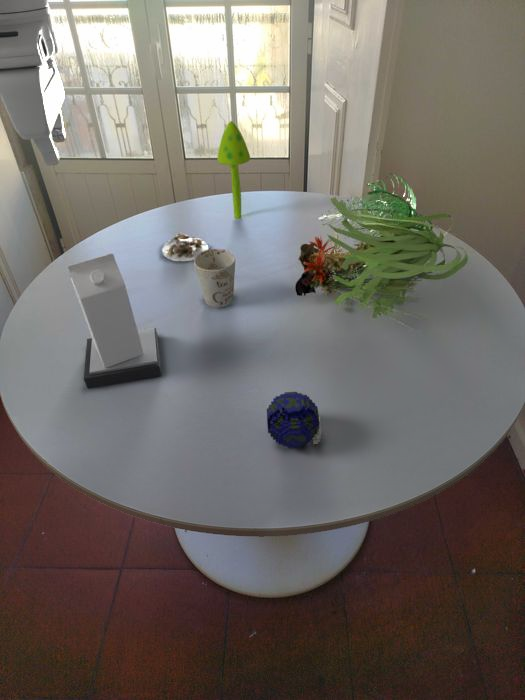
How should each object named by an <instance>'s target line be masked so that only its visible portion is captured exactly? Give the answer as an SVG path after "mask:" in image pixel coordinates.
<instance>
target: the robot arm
mask: <svg viewBox="0 0 525 700" xmlns="http://www.w3.org/2000/svg"><path fill="white" fill-rule="evenodd" d="M61 51H62V47H61V43H60V40H59V36H58V33H57V29H56V25H55V22H54V18H53V14H52V11H51V7H50V4H49V1H48V0H0V99H1V101H2V104H3V106H4V107H5V108H4V109H5V111H6V113H7V115H8V117H9V119H10V122H11V124H12V127H13V128H14V130H15V131H16V133H17V134H18V136H19V137H20V138H21V140H26V141H27V140H28V141H29V140H33V143H34V144H35V146H36V147H37V149H38V151H39V152H40V153H41V156H42V159H43V161H44V164H45V165H46V166H57V165H59V162H60V155H59V151H58V149H57V147H56V146H55V143H64V142H65V141H66V140H67V134H66V131H65V127H64V121H63V114H62V110H61V109H62V105H63V103H64V100H65V98H66V96H65V90H64V86H63V82H62V80H61V76H60V73H59V70H58V66H57V64H56V61H55V57H54V55H55V54H58V53H60V52H61Z"/></svg>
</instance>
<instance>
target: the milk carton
mask: <svg viewBox="0 0 525 700" xmlns="http://www.w3.org/2000/svg"><path fill="white" fill-rule="evenodd" d="M66 267H67V271H68V273H69V277H70V278H69V279H70V281H71V284H72V286H73V290H74V293H75V294H76V298H77V300H78V303H79V305H80V309H81V311H82V314H83V317H84V319H85V323H86V325H87V328H88V331H89V334H90V336H91V338H92V339H93V342H94V345H95V347H96V349H97V351H98V354H99V356H100V358H101V360H102V363H103V365H104V367H105V368H107V367H110V366H113V365H115V364H118V363H121V362H124V361H126V360H129V359H132V358H135V357H137V356H140V355H143V354H144V353H143V349H142V345H141V341H140V338H139V334H138V330H139V329H138V327H137V324H136V320H135V316H134V313H133V308H132V305H131V302H130V297H129V293H128V290H127V287H126V286H127V285H126V284H125V281H124V278H123V276H122V273H121V271H120V268H119V266H118V263H117V261H116V259H115V255H114V253H113V252H111V253H107V254H104V255H100V256H97V257H93V258H90V259H85V260H82V261H79V262H75V263H71V264H68V265H66Z"/></svg>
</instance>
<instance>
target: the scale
mask: <svg viewBox="0 0 525 700" xmlns="http://www.w3.org/2000/svg"><path fill="white" fill-rule="evenodd" d="M137 330H138V334H139V338H140V341H141V345H142V349H143V353H144V354H143V355H140V356H137V357H135V358H132V359H129V360H126V361H124V362H121V363H118V364H115V365H113V366H110V367H107V368H105V367H104V365H103V363H102V360H101V358H100V356H99V354H98V351H97V349H96V347H95V345H94V342H93V339H92V337H90V338H86V346H85V347H86V348H85V357H84V358H85V359H84V360H85V361H84V367H83V368H84V371H83V381H84V383H85V386H86V388H87V389H94V388H99V387H105V386H111V385H115V384H122V383H128V382H133V381H139V380H145V379H151V378H155V377H162V365H161V363H162V362H161V353H160V352H161V351H160V342H159V334H158V331H157V327H151V328H150V327H149V328H144V329H137Z"/></svg>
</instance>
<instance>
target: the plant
mask: <svg viewBox="0 0 525 700" xmlns="http://www.w3.org/2000/svg"><path fill="white" fill-rule="evenodd" d="M391 175H392V176H394V178H395V179H396V180H397V181H401V183H402V184H403V185H404V188H405V191H404V194H403V197H405V196H406V191H407V192H409V193H408V197H407V198H406V200H405V199H404V198H402V197H401V196H400V195H397V194H395V193H394V192H395V190H394V191H392V193H391V192H388V191H386V190H387V186H386V183H385V182H384V180H382V179H380V178H378V181H380V183H381V184H382V186H383V189H382V187H381V186H380V185H379V184H377V183H375V182H371V183H370V182H368V183H367V184H366V186H367V187H371V188H372V190H371V191H366V194H367V195H365V197H366V198H363V199H362V197H363V195H359V197H358V196H356V198H354V197H353V196H351V197H350V199H347V200H346V201H347V202H348V204H349V205H347V204H346V202H344V201H343V199H341V200H340V201H338V199H337V198H336V196H334V197H332V198H329V200H330V202H331V203H332V204H333V205H334V206H335V209H336V210H337V211H338V212H333V213H330V211H327V212H328V213H329V215H327V214H323V213H321V214H322V215H323V216H322V217H317V220H320V221H321V222H325V221H327V220H330V219H332V220H331V221H329V222H327V223H322V226H326V225H327V226H328V227H330V228H331V230H333V231H334V236H335V237H334V236H332V235H329V234H327V237H328V239H327V240H326V242H325V243H324V241H323V239H322V235H321V233H320V237H318V236H316V235H315V236H314V240H315V242H314V241H308V242H309V244H308V243H303V244H301V245H300V255H299V257H298V260H299V262H300V264H301V266H302V268H303V270H304V271H303V273H302V274H301V276H300V277H299V279H298V280H297V281H296V283H295V285H294V289H295V290H294V291H295V293H296V295H297V296H298V297H303V296H304V297H306V295H307V294H312V293H314V294H317V292H316V289H317V288H319V289H320V288H321V291H322V290H323V295H324V296H327V295H330V296H331V297H332V296H333V295H334V296H335V298H336V299H335V300H334V301H333V303H334V304H335V305H336V306H342V304H343V303H342V302H343V301H344V300H346V302H347V303H348V310H351V305H350V299H351V300H354V301H356V302H357V303H360V304H358V306H359V307H360V308H361V309H362V310H363V309H365V308H366V307H368V308H369V309H371V310H373V311H372V315H371V317H372V319H377V318H378V316H380V317H381V316H382V315H383V316H384V317H387V318H389V319H392V320H393V321H395V322H397V323H399V324H400V325H401V324H402V325H403V326H405V327H408V328H409V329H411V330H413V331H415V332H418V330H417V329H415V328H413V327H411V326H409V325H407V324H406V323H403V322H401V321H399V320H397V319H395V318H393V317H391V316H389V315H388V312H389V313H391V314H393V313H394V311H396V312H399V313H401V314H403V315H407V316H410V317H413V318H416V319H419V320H422V321H424V320H427V317H423V316H420V315H418V314H414V313H411V312H408V311H406V310H402V309H399V308H396V307H395V304H396V301H398V303H402V305H404V304H405V303H406V302H410V303H416V304H419V301H414V300H413V301H412V300H408V299H406V298H412V296H409V295H406V294H407V293H408V291H409V292H412V293H414V292H415V290H413V288H412V287H411V286H417V283H416V282H422V281H423V280H431V281H439V280H444V279H447V278H449V277H451V276H453V275H455V274H456V273H457V272H459V271H460V270H462V269H463V268H464V267H465V266H466V265H467V263H468V260H469V255H468V253H467V252H466V250H465V248H463V247H462V246H457V245H451V244H447V243H444V238H445V236H446V235H447V234H448V233H449V231H447V232H446V233H444V234H443V232H442V230H440V228H439V227H438V226H437V225H435V224H433V222H431V220H437V219H444V218H450V219H453V217H452V216H451V215H450V214H447V213H439V214H432V215H422V214H421V213H420V212H419V210H417V211H416V207H417V198H416V194H414V190H413V188H412V186H411V185H410V184H409V183H408V182H407V181H406V179H404V178H402V177H401V176H400V175H397V174H396V175H395V174H394V173H391ZM387 178H388V179H390V181H391V183H392V186H393V187H395V183H394V181H393V179H392V178H391V177H390V176H386V177H385V179H387ZM398 178H399V179H398ZM397 184H398V185H397V187H399V183H397ZM376 187H377V188H376ZM400 191H402V189H400ZM385 195H386V196H385ZM384 196H385V197H384ZM389 196H390V197H389ZM393 199H394V200H393ZM410 199H411V200H410ZM350 200H352V201H351V202H352V203H351V202H350ZM354 200H355V201H356V203H355V201H354ZM409 202H410V203H409ZM359 206H360V208H359ZM341 220H342V221H341ZM340 221H341V223H340V224H337V225H334V224H336V223H339V222H340ZM349 221H350V222H349ZM426 221H427V222H426ZM354 224H355V226H353V225H354ZM454 224H455V221H454V220H452V224H451V227H450V228H449V230H451V229H452V227H453V226H454ZM333 225H334V226H333ZM433 228H435V229H436V230H438V231H439V236H437V234H436V233H435V232H434V231H433ZM365 231H366V232H365ZM338 234H340V235H342V236H344V239H345V240H346V239H348V238H351V239H354V240H353V242H354V244H353V246H355V247H352V246H350V245H349V244H347V243H346V242H344V241H341V240H340V239H338V238H339V235H338ZM356 242H358V243H357V244H356ZM323 243H324V244H323ZM329 243H333V244H331V246H330V247H329V248H327V249H326V247H327V246H328V244H329ZM444 247H445V248H446V247H448V248H451V249H454V250H455V251H456V256H455V258H454V259H452V260H451V261H450V262H448V263H446V254H445V252H444V249H443V248H444ZM456 248H458V249H461V250H463V251H464V258H463V259H462V254H461V253H460V251H459V250H458V249H456ZM343 249H345V250H346V252H342V251H343ZM438 252H441V253H442V256H443V260H442V261H440V262H439V263H437V261H438ZM436 263H437V264H436ZM434 272H435V273H436V272H437V274H434ZM439 272H442V273H439ZM372 296H375V297H377V296H378V297H377V298H376V299H375V300H372V299H371V298H372ZM355 298H358V300H357V299H355ZM413 298H415V299H420V296H419V297H418V296H413ZM369 303H370V305H371V306H369V305H368V304H369ZM341 308H342V307H340V308H339V309H340V310H341Z"/></svg>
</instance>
